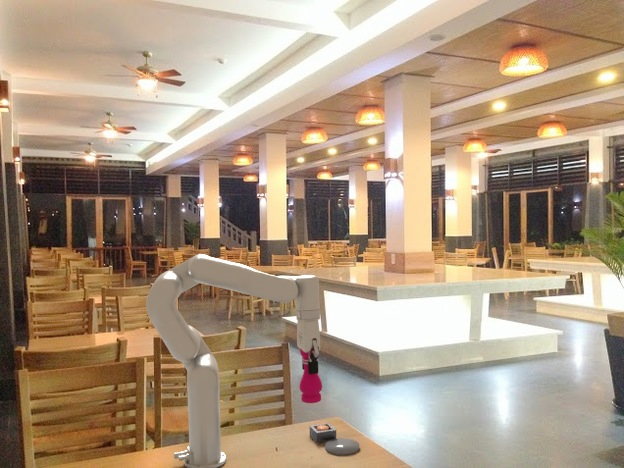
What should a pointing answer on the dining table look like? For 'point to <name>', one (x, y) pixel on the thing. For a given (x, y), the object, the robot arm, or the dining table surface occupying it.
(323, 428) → the button
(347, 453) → the pad
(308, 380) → the pepper mill
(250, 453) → the dining table surface
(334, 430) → the button housing
